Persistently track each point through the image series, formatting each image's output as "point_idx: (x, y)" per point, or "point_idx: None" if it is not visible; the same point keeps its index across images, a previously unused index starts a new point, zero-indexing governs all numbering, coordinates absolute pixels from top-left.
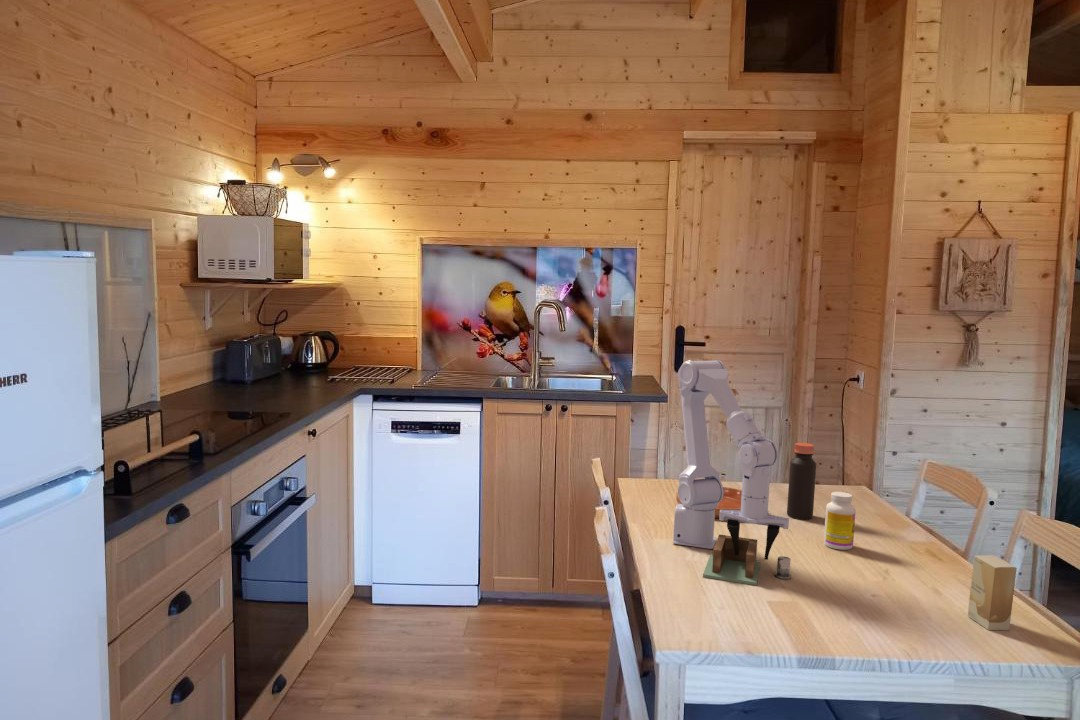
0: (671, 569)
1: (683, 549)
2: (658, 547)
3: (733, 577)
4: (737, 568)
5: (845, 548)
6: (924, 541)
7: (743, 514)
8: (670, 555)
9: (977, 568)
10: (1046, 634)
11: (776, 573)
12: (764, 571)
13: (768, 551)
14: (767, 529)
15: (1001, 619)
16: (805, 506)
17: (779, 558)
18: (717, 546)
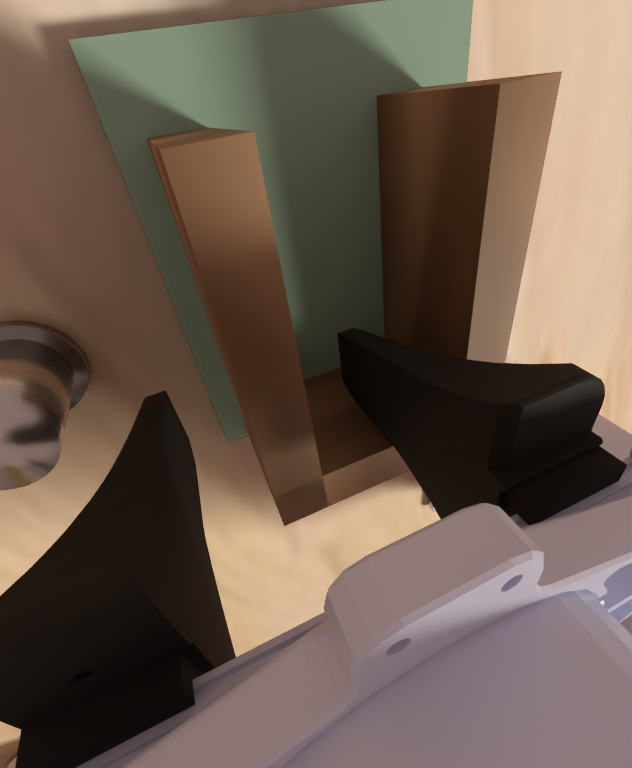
0: (612, 39)
1: (528, 357)
2: (606, 311)
3: (276, 57)
4: (300, 270)
5: (14, 761)
6: None
7: (613, 622)
8: (581, 258)
9: None
10: None
11: (73, 365)
12: (166, 368)
13: (136, 431)
14: (147, 605)
15: None
16: None
17: (27, 424)
18: (519, 198)
